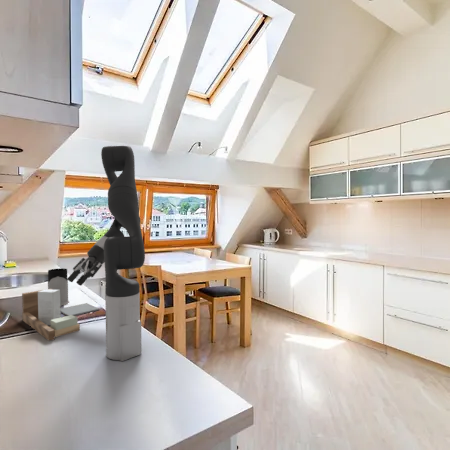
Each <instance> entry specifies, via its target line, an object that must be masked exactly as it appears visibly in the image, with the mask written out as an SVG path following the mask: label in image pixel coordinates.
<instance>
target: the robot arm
mask: <svg viewBox="0 0 450 450" xmlns="http://www.w3.org/2000/svg"><path fill="white" fill-rule="evenodd" d="M100 154H101V163H102V166H103V169H104V172H105V175H106V178H107V180H108V183H109V188H108V191H107V207H108V211H109V212H110V214H111V215H112V216H113V218H114V219H113V221H112V223H111V225H110V227H109V229H108V230H107V231H106V232H105V233H104V234H103V236H102V237H100V238H99V239H98V240H97V241H96V242H95V244H94V245H92V247H91V248H90V249H89V250H88V251H87V258H84V257H83V258H81V259H80V260H79V261H78V262H77V264H76V265H75V266H74V267H73V268H72V270H73V272H72V273H70V275H69V276H67V279H68V282H70V283H73V282H74V281H75V280H76V279H77V278H78V276H79V278H78V279H77V280H76V284H77V285H79V286H83V284H85V282H86V281H87V280H88V279H90V278H94V276H95V275H96V274H97V273H98V272H99V270H100V269H101V268H102V267H103V264H104V271H105V274H104V276H105V278H104V279H105V289H104V291H105V295H104V296H105V349H106V350H105V356H106V357H107V359H110V360H112V361H113V360H114V361H120V362H123V361H124V362H125V361H127V360H129V359H132V358H134V357H136V356H137V357H138V356H139V355H142V321H141V315H140V309H141V308H140V305H141V302H140V299H141V298H140V294H141V293H140V291H141V289H140V282H138V281H137V280H134V279H130V278H127V277H124V276H122V275H120V274H119V273H118V270H121V271H122V270H133V269H134V270H135V269H140V268H142V267H143V266H144V264H145V260H146V253H145V245H144V238H143V233H142V229H141V228H142V227H141V217H140V212H139V211H140V210H139V199H138V197H139V196H138V192H137V191H138V189H137V183H136V170H135V166H136V165H135V153H134V150H133V149H132V147H131V146H130V145H126V144H116V145H106V146H102V148H101V153H100ZM117 172H121V173H120V174H119V175H118V176H117ZM121 228H124V229H125V231H126V232H127V234H128V236H125V234H124V233H123V231H122V230H121ZM82 273H83V274H82ZM80 274H82V275H81V276H80Z"/></svg>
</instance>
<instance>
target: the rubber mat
mask: <svg viewBox="0 0 450 450" xmlns="http://www.w3.org/2000/svg"><path fill="white" fill-rule="evenodd" d="M60 311H61V314H63V315H65V316H69V315H73V316H76V317H77V316H80V315H84V313H85V314H88V312H89V313H93V312H97V311H100V307H99V308H98V307H96V306H94V305H92V304H90V303H88V302H86V303H81V304H75V305H70V306H67V307H60ZM92 311H93V312H92Z"/></svg>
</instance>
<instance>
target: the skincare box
mask: <svg viewBox="0 0 450 450" xmlns="http://www.w3.org/2000/svg"><path fill="white" fill-rule="evenodd" d="M41 290H42V291H40V290H38V291H39V292H38V318H37V319H39V320H40V321H42V322H43V323H45V324H46V325H47V326H51V320H53V319H57V318H61V317H62V316H61V314H62V313H61V311H60V309H61V306H60V290H51V289H48V288H46V289H41Z"/></svg>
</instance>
